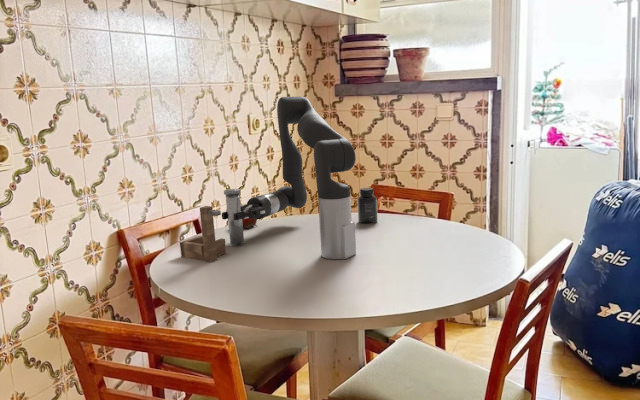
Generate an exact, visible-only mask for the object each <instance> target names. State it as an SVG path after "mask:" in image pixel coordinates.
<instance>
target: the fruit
mask: <svg viewBox="0 0 640 400" xmlns="http://www.w3.org/2000/svg"><path fill="white" fill-rule="evenodd" d="M257 221H258V220H256V219H253V218H252V219H250V218H246V219H244V218H243V219H242V224H243V229H245V228H246V229H249V228H250V227H258V225H257Z"/></svg>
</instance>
